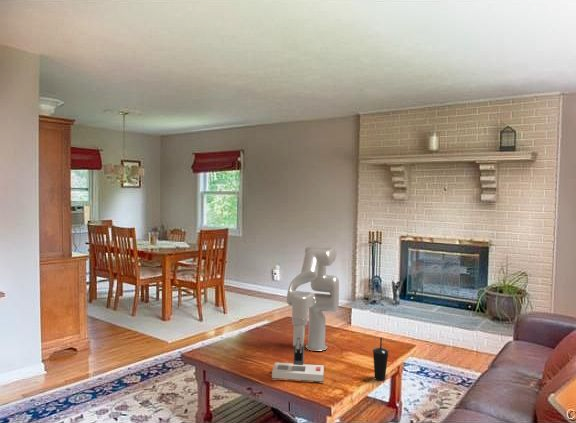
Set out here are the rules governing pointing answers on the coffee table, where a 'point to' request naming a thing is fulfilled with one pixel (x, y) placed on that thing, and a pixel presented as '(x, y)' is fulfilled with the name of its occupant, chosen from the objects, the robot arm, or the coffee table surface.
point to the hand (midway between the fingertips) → (298, 358)
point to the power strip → (298, 372)
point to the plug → (302, 356)
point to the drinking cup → (380, 362)
